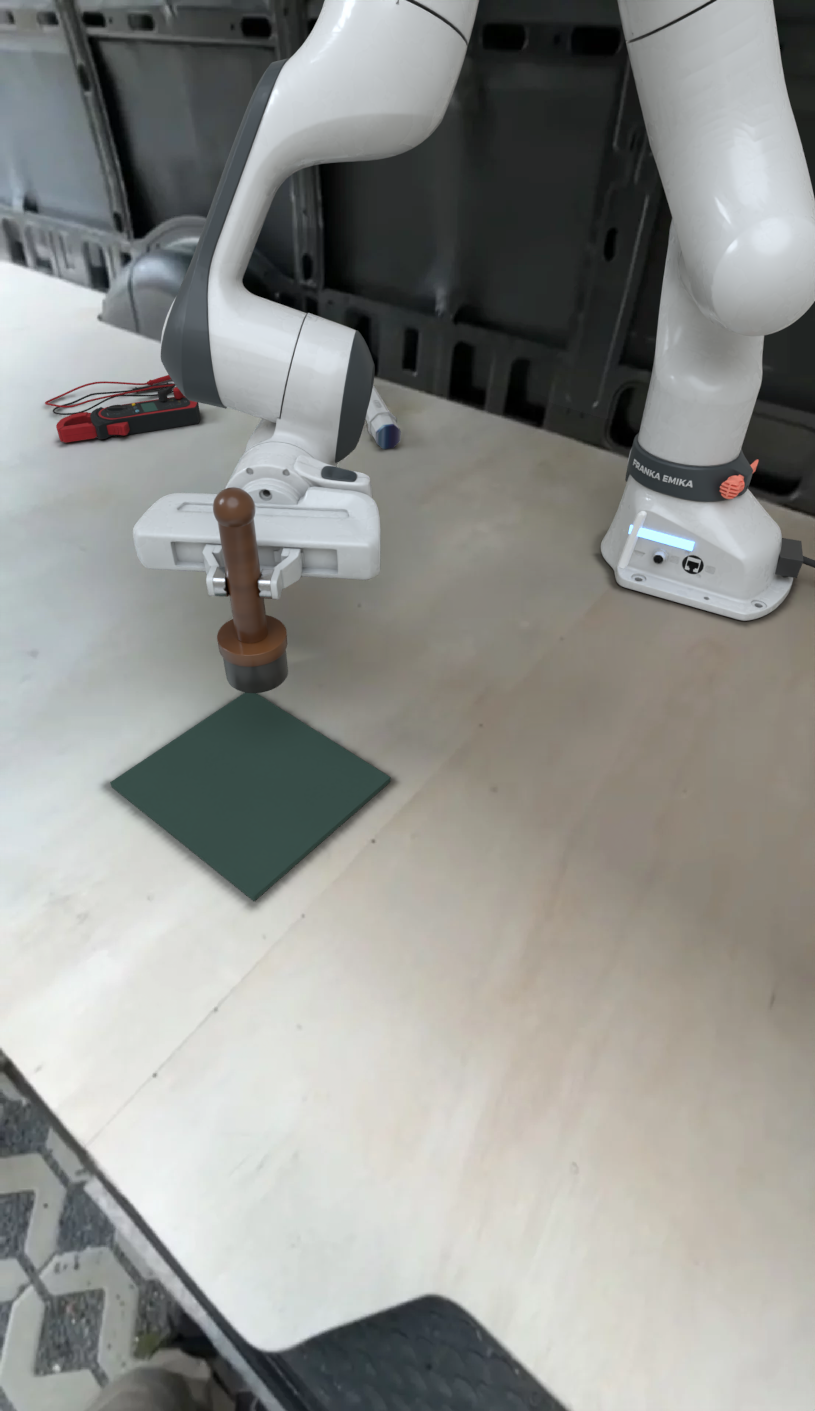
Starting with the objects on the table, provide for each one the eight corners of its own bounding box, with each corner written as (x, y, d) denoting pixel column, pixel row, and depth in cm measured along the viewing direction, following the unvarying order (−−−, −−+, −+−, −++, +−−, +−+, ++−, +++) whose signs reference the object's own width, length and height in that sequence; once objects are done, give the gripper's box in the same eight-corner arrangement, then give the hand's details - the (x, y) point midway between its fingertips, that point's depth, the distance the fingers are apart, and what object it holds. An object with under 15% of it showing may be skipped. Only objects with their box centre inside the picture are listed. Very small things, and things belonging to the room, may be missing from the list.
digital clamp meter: (221, 395, 122) (51, 420, 114) (225, 424, 125) (59, 450, 117) (186, 347, 137) (33, 366, 129) (190, 374, 140) (41, 394, 132)
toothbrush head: (371, 425, 115) (334, 346, 131) (371, 465, 120) (334, 384, 136) (406, 422, 116) (364, 343, 132) (404, 462, 122) (364, 381, 137)
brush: (304, 671, 67) (288, 488, 56) (255, 704, 64) (227, 517, 53) (259, 644, 70) (235, 464, 59) (210, 675, 67) (174, 491, 55)
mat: (390, 781, 69) (390, 777, 69) (254, 901, 60) (253, 897, 59) (250, 693, 77) (249, 688, 77) (111, 786, 68) (109, 782, 68)
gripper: (153, 464, 69) (98, 547, 59) (388, 475, 68) (373, 561, 58) (166, 529, 73) (117, 617, 63) (387, 539, 72) (374, 630, 62)
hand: (242, 590), depth 60 cm, fingers closed on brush, 2 cm apart
